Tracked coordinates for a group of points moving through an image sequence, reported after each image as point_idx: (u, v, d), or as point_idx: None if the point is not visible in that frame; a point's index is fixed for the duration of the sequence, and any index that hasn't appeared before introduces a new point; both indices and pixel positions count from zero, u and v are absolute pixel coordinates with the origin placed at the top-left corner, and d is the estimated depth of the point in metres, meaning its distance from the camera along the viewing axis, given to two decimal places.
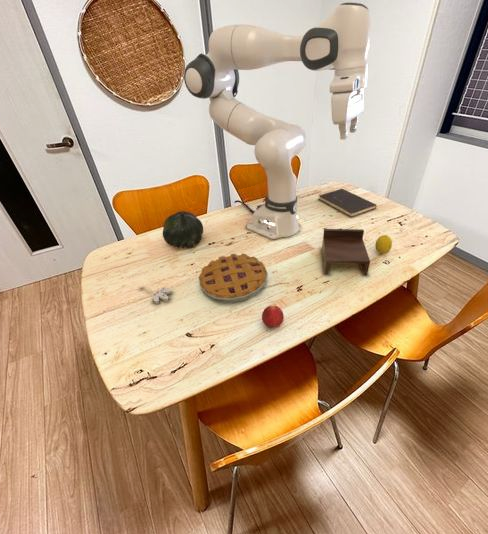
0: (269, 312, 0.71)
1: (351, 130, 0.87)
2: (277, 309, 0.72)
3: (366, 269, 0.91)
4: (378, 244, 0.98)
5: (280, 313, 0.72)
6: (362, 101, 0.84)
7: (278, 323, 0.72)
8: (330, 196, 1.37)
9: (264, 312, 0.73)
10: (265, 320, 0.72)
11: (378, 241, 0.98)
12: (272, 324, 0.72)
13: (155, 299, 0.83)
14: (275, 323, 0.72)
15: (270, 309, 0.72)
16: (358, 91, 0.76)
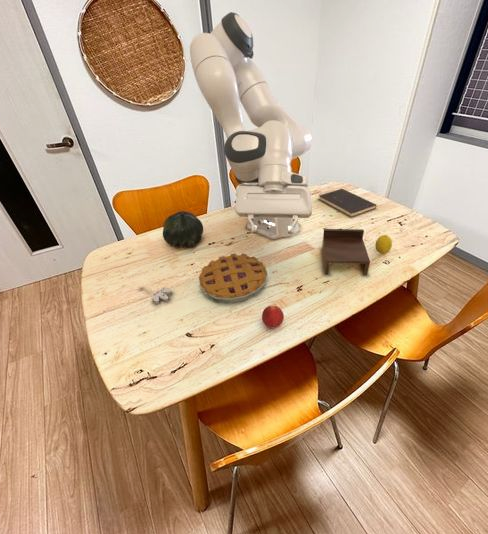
0: (269, 312, 0.71)
1: (257, 230, 0.72)
2: (277, 309, 0.72)
3: (366, 269, 0.91)
4: (378, 244, 0.98)
5: (280, 313, 0.72)
6: None
7: (278, 323, 0.72)
8: (330, 196, 1.37)
9: (264, 312, 0.73)
10: (265, 320, 0.72)
11: (378, 241, 0.98)
12: (272, 324, 0.72)
13: (155, 299, 0.83)
14: (275, 323, 0.72)
15: (270, 309, 0.72)
16: None
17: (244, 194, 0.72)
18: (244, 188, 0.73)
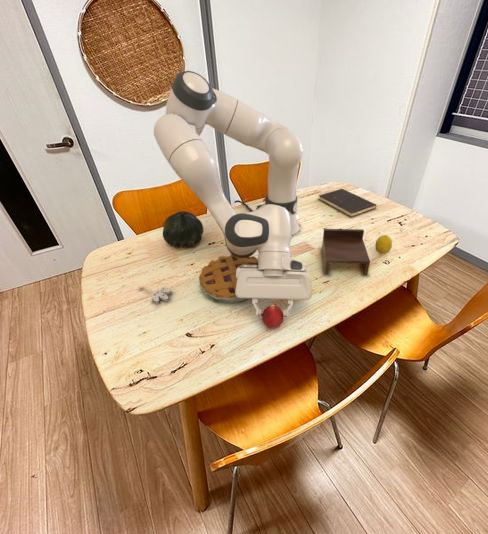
0: (269, 312, 0.71)
1: (261, 313, 0.73)
2: (277, 309, 0.72)
3: (366, 269, 0.91)
4: (378, 244, 0.98)
5: (280, 313, 0.72)
6: None
7: (278, 323, 0.72)
8: (330, 196, 1.37)
9: (264, 312, 0.73)
10: (265, 320, 0.72)
11: (378, 241, 0.98)
12: (272, 324, 0.72)
13: (155, 299, 0.83)
14: (275, 323, 0.72)
15: (270, 309, 0.72)
16: None
17: (244, 278, 0.73)
18: (244, 272, 0.73)
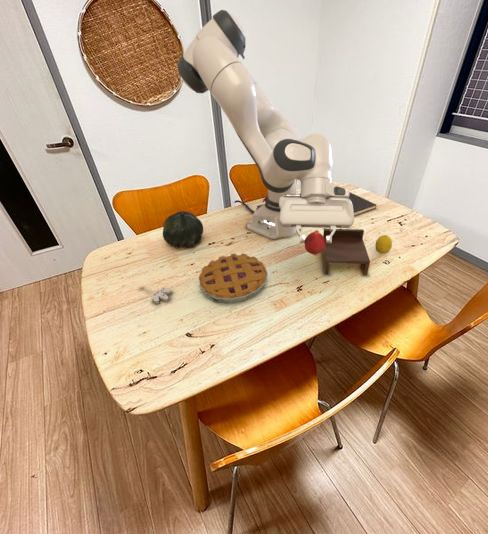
0: (313, 237, 0.74)
1: None
2: (320, 234, 0.75)
3: (366, 269, 0.91)
4: (378, 244, 0.98)
5: (323, 238, 0.75)
6: None
7: (321, 248, 0.75)
8: None
9: (307, 238, 0.75)
10: (309, 245, 0.74)
11: (378, 241, 0.98)
12: (316, 248, 0.74)
13: (155, 299, 0.83)
14: (319, 247, 0.74)
15: (314, 234, 0.74)
16: None
17: (288, 205, 0.75)
18: (288, 200, 0.76)
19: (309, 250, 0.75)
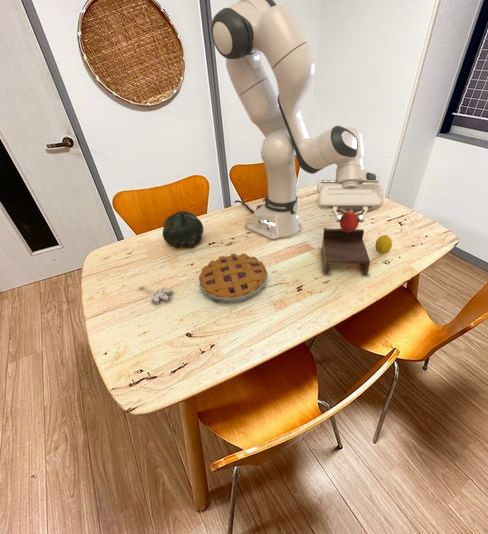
0: (348, 216, 0.86)
1: None
2: (354, 214, 0.87)
3: (366, 269, 0.91)
4: (378, 244, 0.98)
5: (357, 217, 0.87)
6: None
7: (355, 225, 0.87)
8: None
9: (343, 217, 0.87)
10: (344, 223, 0.87)
11: (378, 241, 0.98)
12: (350, 226, 0.86)
13: (155, 299, 0.83)
14: (353, 225, 0.86)
15: (349, 213, 0.86)
16: None
17: (326, 189, 0.88)
18: (326, 185, 0.88)
19: (344, 228, 0.87)
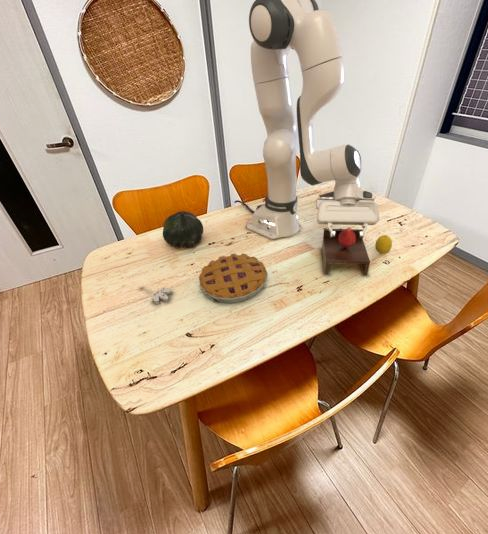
0: (346, 233, 0.90)
1: None
2: (352, 231, 0.91)
3: (366, 269, 0.91)
4: (378, 244, 0.98)
5: (354, 234, 0.91)
6: None
7: (353, 242, 0.91)
8: (330, 196, 1.37)
9: (341, 234, 0.91)
10: (342, 239, 0.91)
11: (378, 241, 0.98)
12: (348, 242, 0.90)
13: (155, 299, 0.83)
14: (351, 241, 0.90)
15: (347, 230, 0.90)
16: None
17: (325, 206, 0.92)
18: (324, 202, 0.92)
19: (342, 244, 0.91)
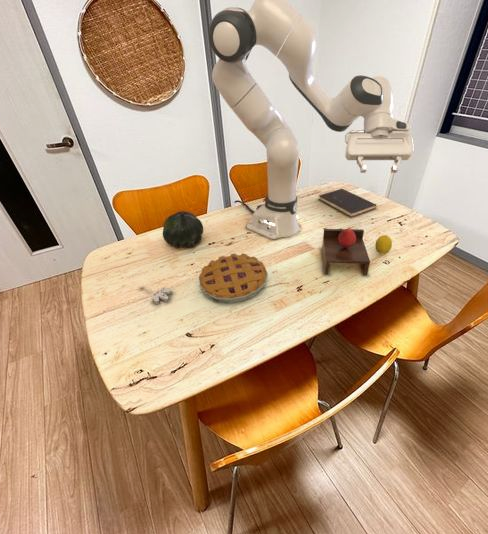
0: (346, 233, 0.90)
1: None
2: (352, 231, 0.91)
3: (366, 269, 0.91)
4: (378, 244, 0.98)
5: (354, 234, 0.91)
6: None
7: (353, 242, 0.91)
8: (330, 196, 1.37)
9: (341, 234, 0.91)
10: (342, 239, 0.91)
11: (378, 241, 0.98)
12: (348, 242, 0.90)
13: (155, 299, 0.83)
14: (351, 241, 0.90)
15: (347, 230, 0.90)
16: None
17: (355, 139, 0.86)
18: (354, 134, 0.86)
19: (342, 244, 0.91)
